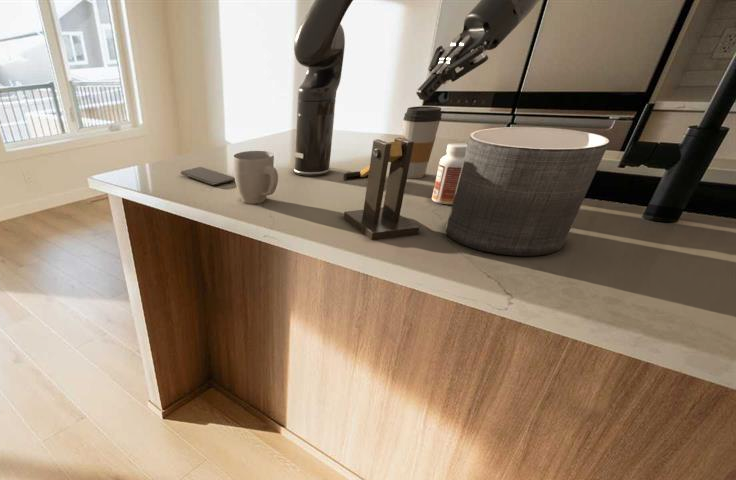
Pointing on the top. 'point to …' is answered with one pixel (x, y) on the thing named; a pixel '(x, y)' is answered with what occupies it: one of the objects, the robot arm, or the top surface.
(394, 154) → the lever
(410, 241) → the top surface
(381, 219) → the lever stand
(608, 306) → the top surface
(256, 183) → the mug
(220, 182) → the smartphone
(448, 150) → the pill bottle
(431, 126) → the coffee cup
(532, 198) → the planter
